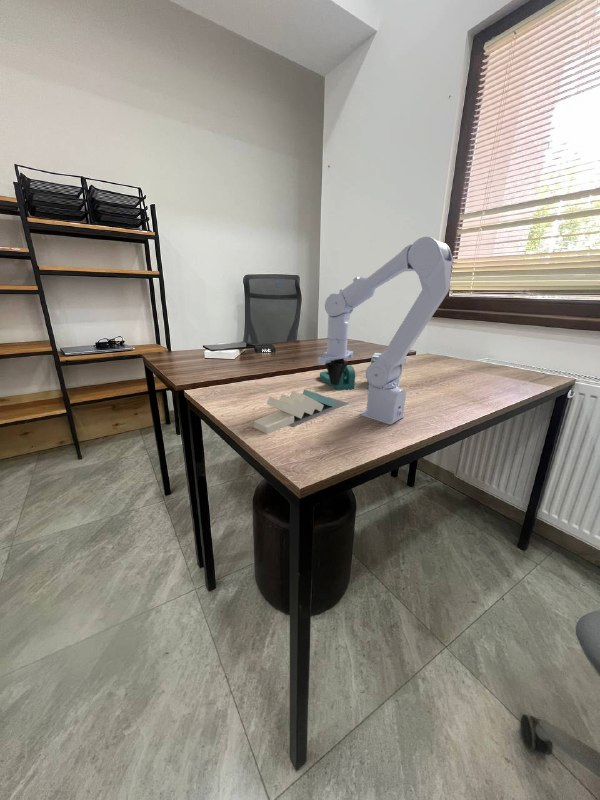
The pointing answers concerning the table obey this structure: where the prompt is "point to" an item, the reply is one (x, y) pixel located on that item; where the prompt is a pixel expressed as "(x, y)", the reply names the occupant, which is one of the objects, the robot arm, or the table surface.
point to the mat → (318, 412)
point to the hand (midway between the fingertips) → (334, 384)
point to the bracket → (345, 381)
